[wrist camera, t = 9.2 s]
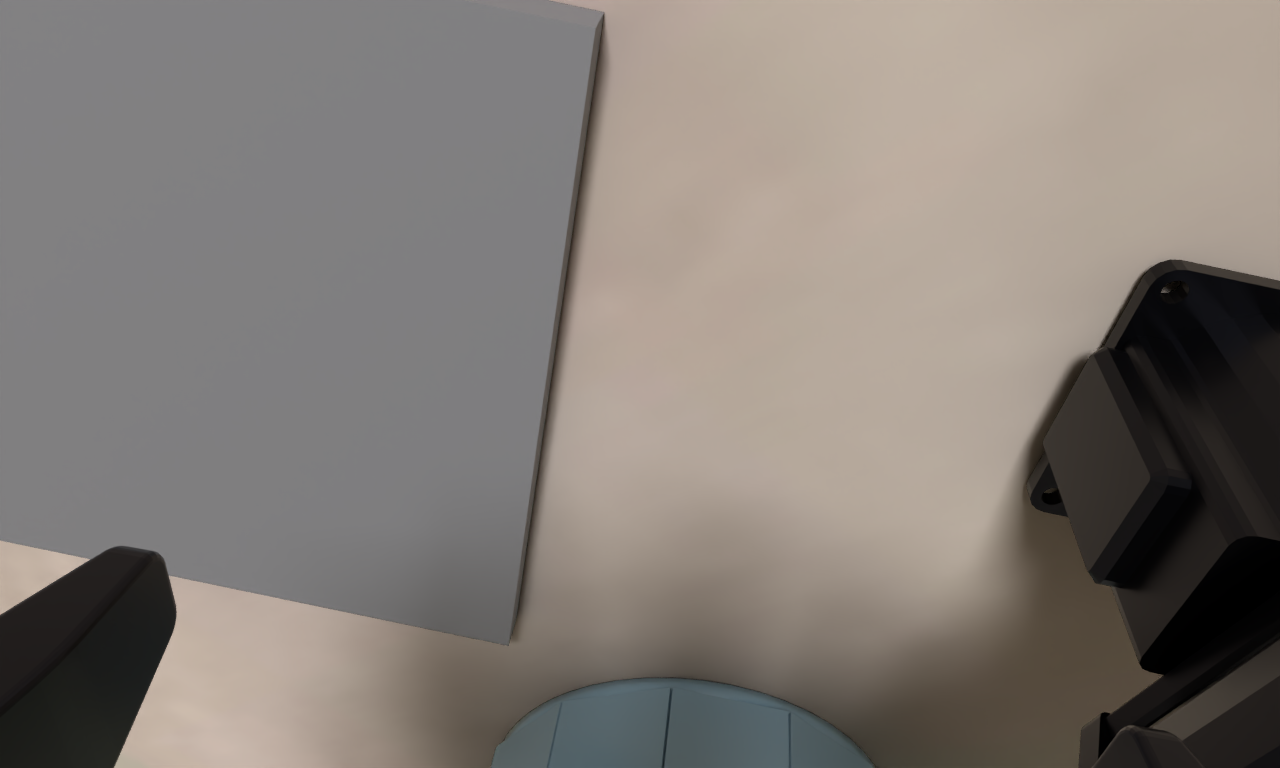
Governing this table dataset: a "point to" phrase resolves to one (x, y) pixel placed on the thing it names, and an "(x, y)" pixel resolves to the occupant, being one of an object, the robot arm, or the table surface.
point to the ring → (674, 730)
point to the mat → (289, 289)
